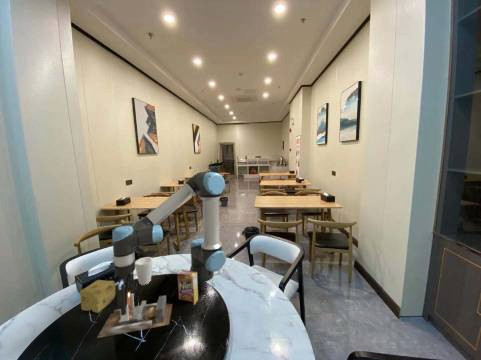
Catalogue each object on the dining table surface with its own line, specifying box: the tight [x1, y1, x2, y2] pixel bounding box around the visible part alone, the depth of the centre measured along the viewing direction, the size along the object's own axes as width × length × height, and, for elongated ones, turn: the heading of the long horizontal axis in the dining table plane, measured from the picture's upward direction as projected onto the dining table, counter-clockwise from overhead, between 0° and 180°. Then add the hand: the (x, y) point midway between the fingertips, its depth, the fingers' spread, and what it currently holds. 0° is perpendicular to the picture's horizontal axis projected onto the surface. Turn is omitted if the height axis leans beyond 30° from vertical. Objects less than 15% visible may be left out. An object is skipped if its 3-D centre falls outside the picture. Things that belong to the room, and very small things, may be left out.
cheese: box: [79, 279, 116, 313], centre depth 99 cm, size 10×11×10 cm
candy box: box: [177, 269, 199, 306], centre depth 99 cm, size 9×4×15 cm, turn 73°
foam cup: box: [134, 256, 153, 286], centre depth 117 cm, size 10×9×13 cm
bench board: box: [96, 295, 173, 339], centre depth 87 cm, size 27×13×8 cm, turn 103°
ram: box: [119, 290, 147, 326], centre depth 86 cm, size 9×8×12 cm
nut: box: [147, 307, 156, 318], centre depth 88 cm, size 4×4×4 cm
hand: (127, 314), depth 86 cm, fingers closed on ram, 7 cm apart
